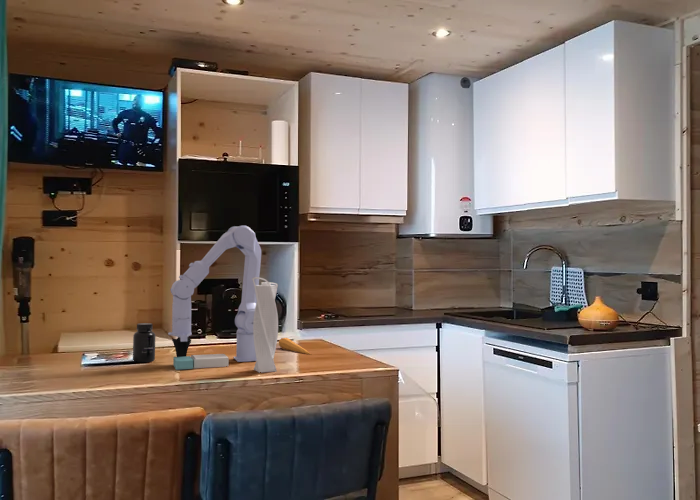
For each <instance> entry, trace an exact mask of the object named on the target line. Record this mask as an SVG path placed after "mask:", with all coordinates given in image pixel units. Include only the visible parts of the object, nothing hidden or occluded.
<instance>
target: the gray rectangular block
mask: <svg viewBox="0 0 700 500" xmlns="http://www.w3.org/2000/svg"><path fill="white" fill-rule="evenodd" d="M190 357H191V358H192V360H193V369H203V368H204V369H205V368H208V369H209V368H222V367H223V368H225V367H226V366H227V367H229V357H228V356H227V355H226V354H225V353H215V354H213V353H212V354H210V353H209V354H191V355H190Z"/></svg>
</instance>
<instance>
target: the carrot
mask: <svg viewBox="0 0 700 500" xmlns="http://www.w3.org/2000/svg"><path fill="white" fill-rule="evenodd" d="M278 346H279V347H280V349H282V350H286V351H291V352H296V353H301V354H304V355H305V354H306V355H311V356H312V354H311V353H310V352H309V351H308V350H307V349H305V348H303V347H302V346H301V345H299V344H298V343H296V342H295V341H293V340H292V339H290V338H288V337H281V338H280V339H279V340H278Z"/></svg>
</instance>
